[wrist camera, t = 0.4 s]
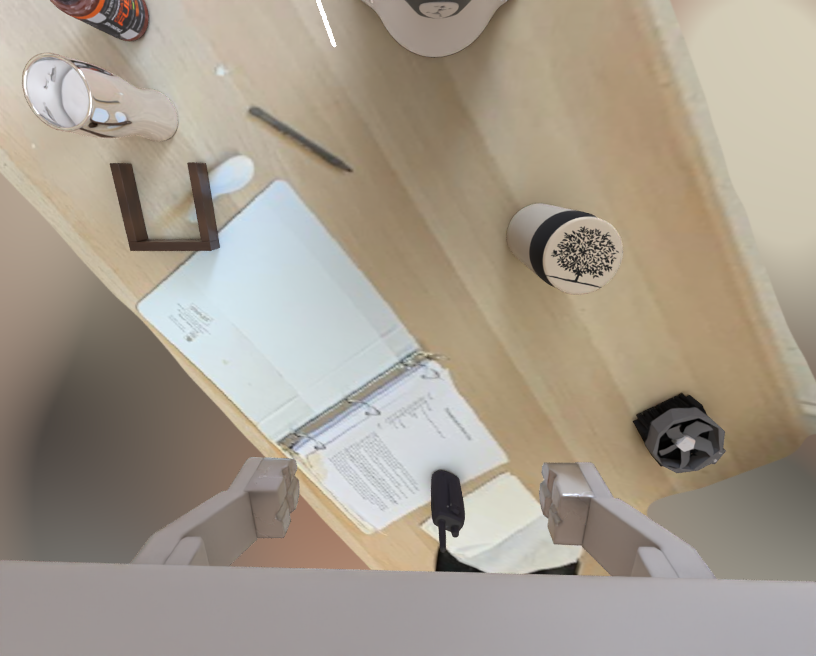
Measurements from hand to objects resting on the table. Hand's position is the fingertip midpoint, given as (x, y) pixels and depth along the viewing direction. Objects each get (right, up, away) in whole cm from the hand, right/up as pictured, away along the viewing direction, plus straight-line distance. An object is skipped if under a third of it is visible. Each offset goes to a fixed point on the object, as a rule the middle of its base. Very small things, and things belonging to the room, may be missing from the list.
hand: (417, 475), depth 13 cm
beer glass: (-33, +32, +39) cm, 61 cm away
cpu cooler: (+41, -11, +52) cm, 67 cm away
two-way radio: (+6, -21, +57) cm, 61 cm away
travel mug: (+17, +18, +43) cm, 49 cm away
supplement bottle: (-34, +43, +36) cm, 65 cm away
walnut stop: (-33, +22, +43) cm, 58 cm away
